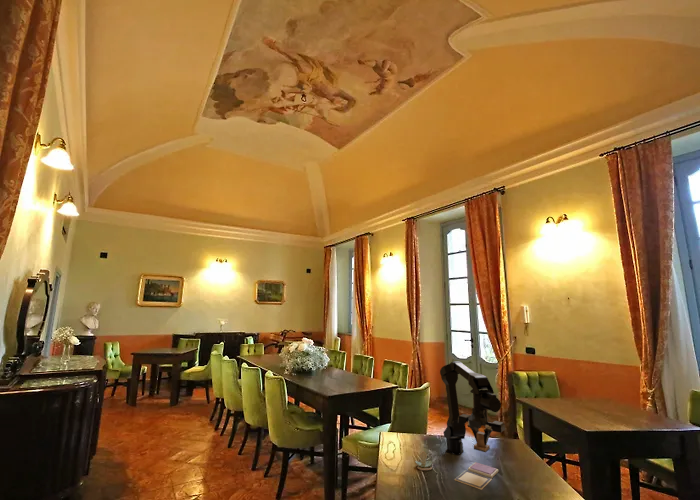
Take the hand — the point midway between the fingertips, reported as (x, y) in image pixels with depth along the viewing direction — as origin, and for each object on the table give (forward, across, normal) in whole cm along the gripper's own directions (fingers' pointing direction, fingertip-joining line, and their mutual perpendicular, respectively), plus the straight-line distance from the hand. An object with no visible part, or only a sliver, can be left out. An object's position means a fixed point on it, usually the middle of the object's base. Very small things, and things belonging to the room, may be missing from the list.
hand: (481, 444), depth 152 cm
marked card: (+11, 0, -10) cm, 15 cm away
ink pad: (+11, 0, +1) cm, 11 cm away
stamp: (+2, 0, 0) cm, 2 cm away
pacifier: (+11, -20, -14) cm, 27 cm away
